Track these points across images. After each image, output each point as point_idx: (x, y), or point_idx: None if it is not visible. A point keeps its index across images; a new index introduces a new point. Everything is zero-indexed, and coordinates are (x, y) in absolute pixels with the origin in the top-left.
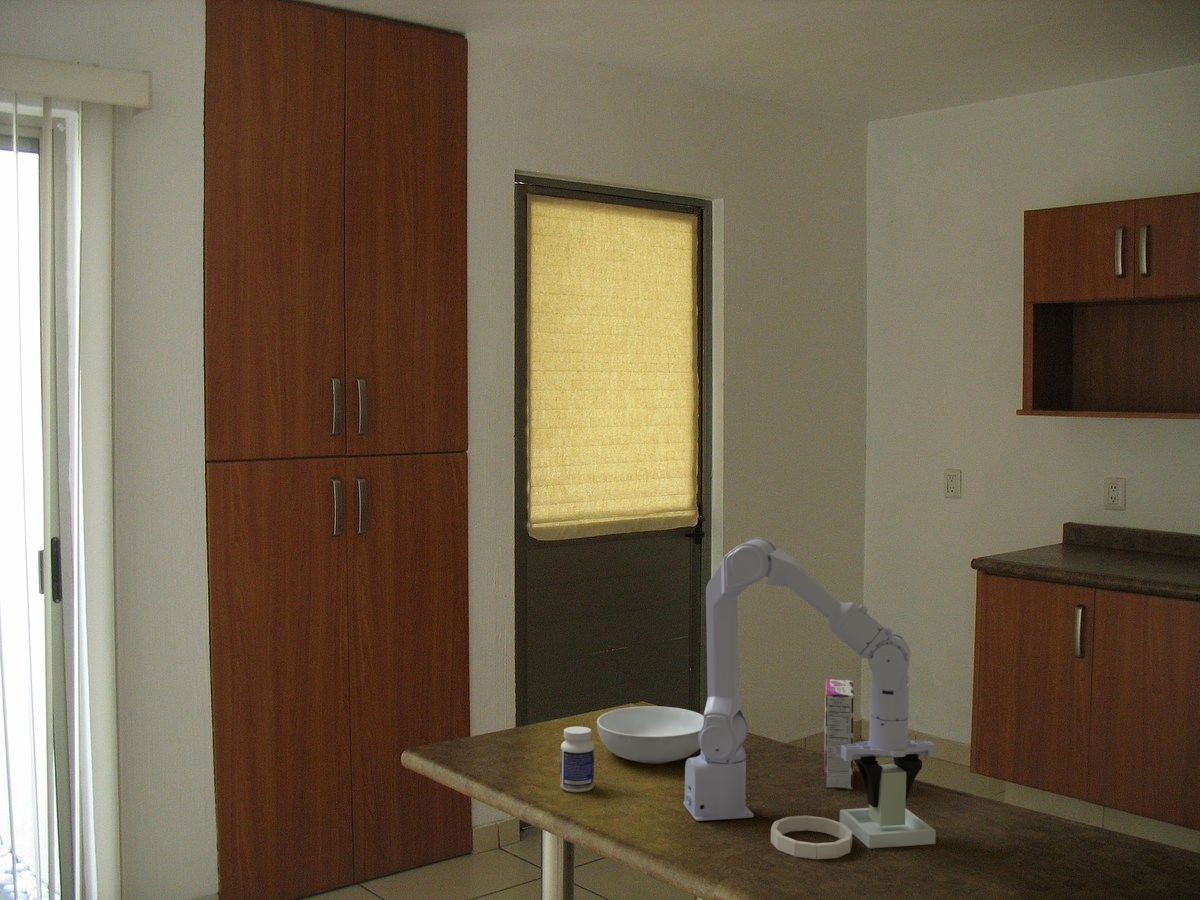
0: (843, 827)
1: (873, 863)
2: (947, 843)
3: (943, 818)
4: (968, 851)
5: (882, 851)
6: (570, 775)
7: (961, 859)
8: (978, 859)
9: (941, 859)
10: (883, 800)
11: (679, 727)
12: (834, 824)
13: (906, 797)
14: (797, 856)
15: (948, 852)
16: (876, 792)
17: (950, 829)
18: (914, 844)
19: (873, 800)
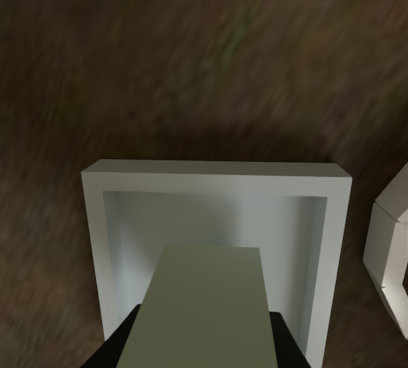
0: (404, 259)
1: (401, 32)
2: (61, 156)
3: (11, 315)
4: (15, 81)
5: (303, 133)
6: None
7: (62, 15)
8: (3, 5)
9: (132, 27)
10: (255, 314)
11: None
12: (406, 296)
13: (126, 324)
14: None
15: (84, 85)
16: (289, 362)
17: (16, 248)
18: (171, 160)
19: (290, 334)
